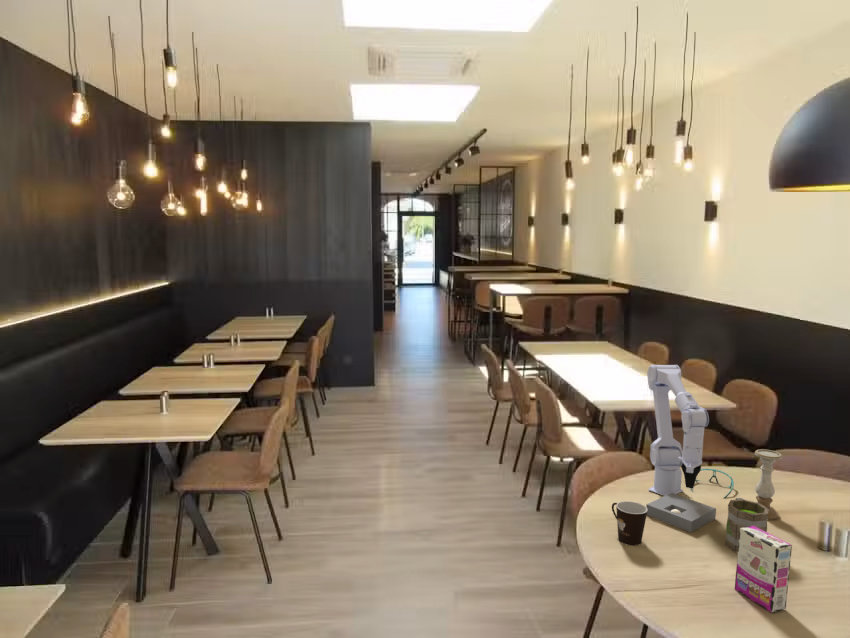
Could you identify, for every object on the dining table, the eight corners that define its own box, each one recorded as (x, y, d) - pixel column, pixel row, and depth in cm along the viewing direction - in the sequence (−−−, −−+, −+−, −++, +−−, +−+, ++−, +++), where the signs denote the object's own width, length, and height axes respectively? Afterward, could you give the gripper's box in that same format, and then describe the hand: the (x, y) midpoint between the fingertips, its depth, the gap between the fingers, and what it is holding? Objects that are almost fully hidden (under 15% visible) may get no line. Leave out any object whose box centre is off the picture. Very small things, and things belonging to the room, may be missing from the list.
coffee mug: (649, 547, 179) (651, 514, 178) (619, 547, 180) (621, 513, 178) (636, 528, 191) (638, 497, 190) (608, 528, 191) (609, 496, 190)
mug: (771, 558, 175) (775, 517, 173) (729, 554, 177) (733, 513, 175) (754, 532, 190) (757, 494, 188) (715, 528, 192) (718, 491, 190)
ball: (678, 523, 197) (667, 519, 198) (680, 512, 199) (669, 508, 199) (681, 521, 194) (670, 517, 195) (683, 510, 196) (672, 506, 196)
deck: (671, 502, 210) (671, 492, 210) (715, 519, 199) (716, 508, 198) (645, 514, 201) (646, 504, 200) (690, 532, 189) (691, 521, 189)
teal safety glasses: (735, 486, 226) (736, 473, 225) (729, 504, 214) (730, 491, 213) (693, 477, 233) (694, 465, 232) (685, 495, 221) (686, 482, 220)
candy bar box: (787, 609, 150) (793, 544, 148) (771, 614, 149) (777, 548, 146) (748, 585, 161) (753, 524, 159) (733, 589, 159) (738, 527, 157)
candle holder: (776, 522, 197) (782, 460, 194) (745, 514, 202) (750, 453, 199) (780, 513, 204) (786, 452, 201) (750, 505, 209) (755, 446, 206)
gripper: (681, 437, 208) (678, 477, 210) (677, 450, 195) (673, 492, 197) (704, 441, 205) (701, 481, 206) (702, 454, 192) (698, 497, 194)
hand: (689, 487), depth 201 cm, fingers closed
